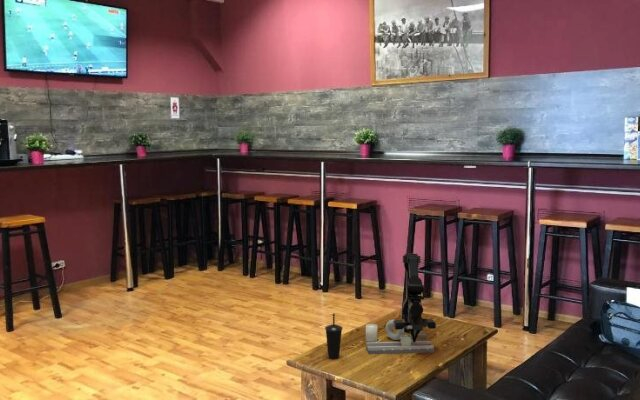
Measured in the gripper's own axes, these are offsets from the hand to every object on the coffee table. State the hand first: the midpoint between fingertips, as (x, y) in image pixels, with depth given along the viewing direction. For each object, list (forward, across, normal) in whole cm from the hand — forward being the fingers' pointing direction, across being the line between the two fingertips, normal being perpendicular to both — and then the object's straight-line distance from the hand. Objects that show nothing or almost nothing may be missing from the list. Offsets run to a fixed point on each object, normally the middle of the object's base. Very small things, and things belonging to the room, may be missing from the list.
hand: (414, 342), depth 274 cm
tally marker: (+2, -4, 0) cm, 4 cm away
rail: (+4, -7, 0) cm, 7 cm away
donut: (+4, -6, +13) cm, 15 cm away
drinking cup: (+4, -38, -7) cm, 38 cm away
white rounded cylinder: (+4, -18, +14) cm, 23 cm away
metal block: (+4, +6, +11) cm, 13 cm away
